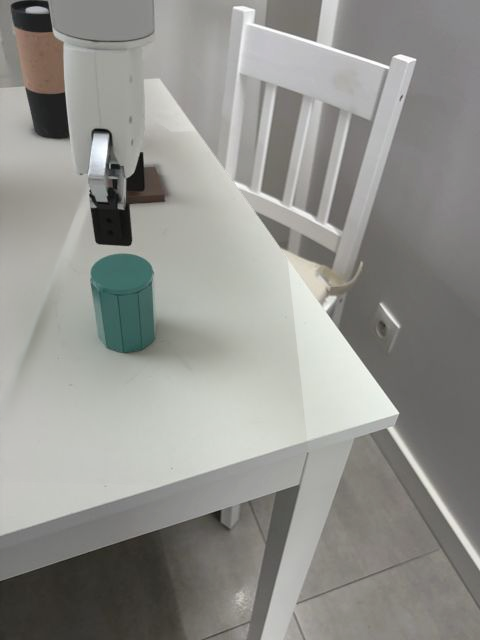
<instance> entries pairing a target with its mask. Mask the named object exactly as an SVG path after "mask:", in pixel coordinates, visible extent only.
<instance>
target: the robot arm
mask: <svg viewBox="0 0 480 640" xmlns="http://www.w3.org/2000/svg"><path fill="white" fill-rule="evenodd" d="M47 1H48V3H49V9H50V16H51V22H52V28H53V34H54V36H55V37H56V38H58V39H59V40H61V41H63V42H64V81H65V95H66V106H67V115H68V125H69V134H70V137H69V142H70V151H71V160H72V167H73V170H74V172H75V173H76V174H77V175H78V176H83V175H87V180H88V186H89V190H88V192H89V193H88V197H89V207H90V214H91V220H92V221H91V222H92V229H93V235H94V236H93V237H94V241H95V243H96V244H97V245H99V246H101V245H102V246H116V247H118V246H119V247H130V246H131V245H132V244H133V231H132V217H131V206H130V203H128V204H126V191H144V189H145V174H144V167H145V159H144V158H145V157H144V152H143V151H142V147H143V144H144V138H145V129H146V102H145V100H146V99H145V97H146V96H145V80H144V65H143V64H144V63H143V48H142V47H145V46H148V45H149V44H151V43H153V42H154V40H155V39H156V24H155V22H156V21H155V20H156V19H155V0H47ZM109 179H112V184H113V187H109V184H110V183H109ZM114 189H116V190H117V193H116V191H115V190H114Z"/></svg>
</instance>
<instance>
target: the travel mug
mask: <svg viewBox="0 0 480 640" xmlns="http://www.w3.org/2000/svg"><path fill="white" fill-rule="evenodd" d="M10 13H11V19H12V25H13V29H14V35H15V40H16V45H17V50H18V56H19V57H18V58H19V63H20V68H21V72H22V73H21V74H22V78H23V85H24V90H25V93H26V97H27V102H28V106H29V111H30V115H31V120H32V124H33V127H34V132H35V134H37V135H38V136H39V137H41V138H46V139H52V140H58V139H67V138H70V134H69V125H68V115H67V106H66V95H65V81H64V42H63V41H61V40H59V39H58V38H56V37H55V36H54V34H53V28H52V22H51V16H50V9H49V3H48V0H18V1H14V2H12V3H11V4H10Z"/></svg>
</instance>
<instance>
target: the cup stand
mask: <svg viewBox="0 0 480 640" xmlns="http://www.w3.org/2000/svg"><path fill="white" fill-rule="evenodd" d="M144 174H145V189H144V191H126V204H143V203H161V202H165V201H166V195H165V192H164V189H163V185H162V182H161V179H160V176H159V173H158V171H157V168H156V166H144ZM109 183H110V184H109V187H113V184H112V179H109ZM114 190H115V191H116V193H117V190H116V189H114Z"/></svg>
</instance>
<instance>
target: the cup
mask: <svg viewBox="0 0 480 640" xmlns="http://www.w3.org/2000/svg"><path fill="white" fill-rule="evenodd" d="M89 281H90V289H91V295H92V296H91V297H92V302H93V309H94V314H95V315H94V316H95V322H96V329H97V335H98V339H99V340H100V341H101V343H102V344H103V345H104V346H105V348H107V349H109V350H111V351H115V352H118V353H122V354H128V353H132V352H133V353H134V352H139V351H143V350H144V349H146V348H147V347H149V345H150V344H152V343H153V342H154V341H155V340H156V333H157V310H156V309H157V308H156V306H157V305H156V286H155V272H154V269H153V266H152V264H151V263H150V262H149V261H148V260H147V259H145V257H142V256H139V255H136V254H132V253H122V252H121V253H112V254H109V255H106V256H103V257H101V258H99V259H98V260H97V261H96V262H94V264H93V265H92V266H91V269H90V279H89Z"/></svg>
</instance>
